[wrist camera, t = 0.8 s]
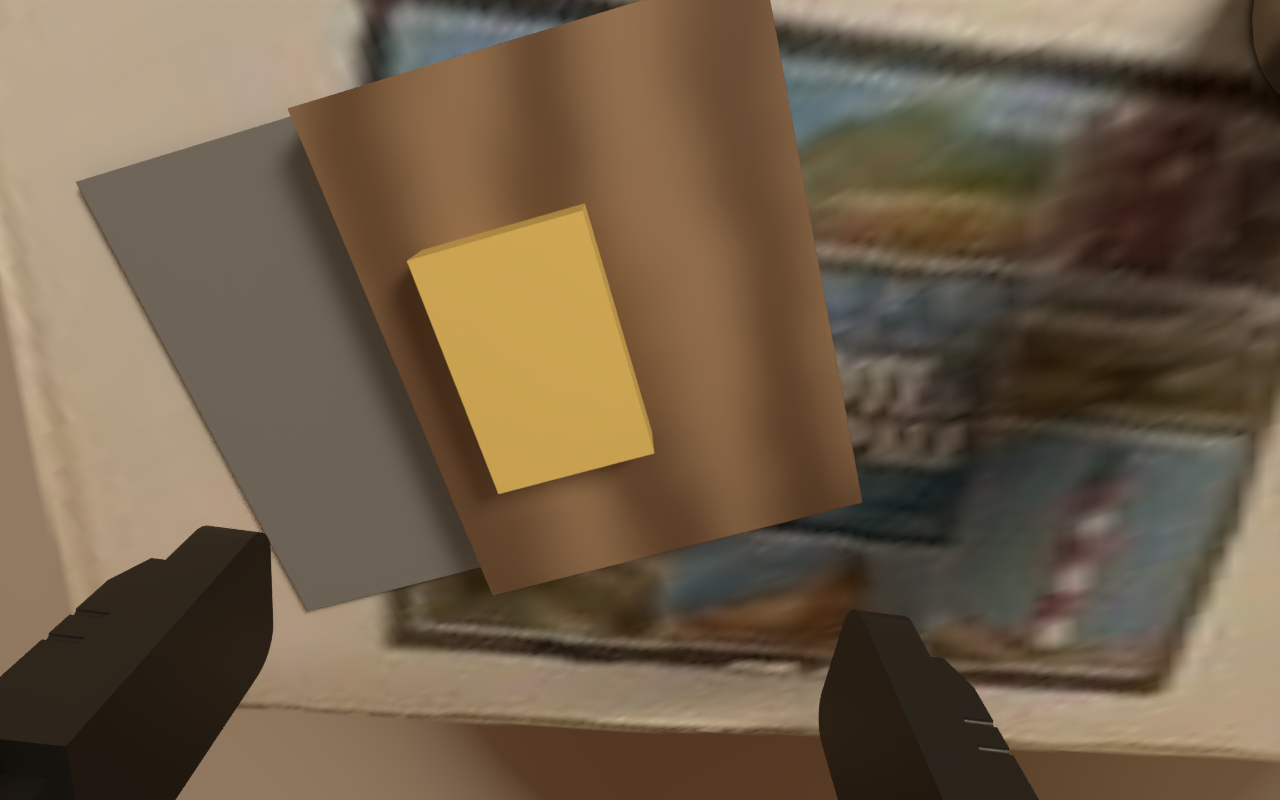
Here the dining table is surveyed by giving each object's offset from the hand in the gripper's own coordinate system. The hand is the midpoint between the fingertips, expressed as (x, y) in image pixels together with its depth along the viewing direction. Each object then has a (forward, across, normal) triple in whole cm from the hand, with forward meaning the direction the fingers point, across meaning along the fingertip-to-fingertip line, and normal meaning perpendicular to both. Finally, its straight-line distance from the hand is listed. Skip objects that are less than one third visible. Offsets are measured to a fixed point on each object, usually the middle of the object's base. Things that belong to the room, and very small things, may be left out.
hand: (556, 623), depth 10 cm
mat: (+21, +12, +6) cm, 24 cm away
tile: (+18, +2, +2) cm, 18 cm away
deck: (+21, 0, +1) cm, 21 cm away
